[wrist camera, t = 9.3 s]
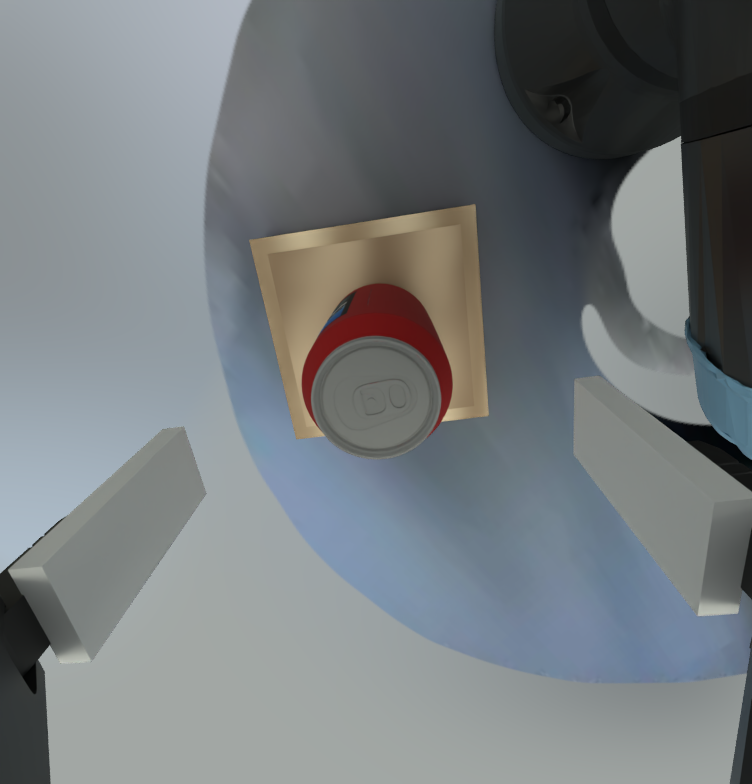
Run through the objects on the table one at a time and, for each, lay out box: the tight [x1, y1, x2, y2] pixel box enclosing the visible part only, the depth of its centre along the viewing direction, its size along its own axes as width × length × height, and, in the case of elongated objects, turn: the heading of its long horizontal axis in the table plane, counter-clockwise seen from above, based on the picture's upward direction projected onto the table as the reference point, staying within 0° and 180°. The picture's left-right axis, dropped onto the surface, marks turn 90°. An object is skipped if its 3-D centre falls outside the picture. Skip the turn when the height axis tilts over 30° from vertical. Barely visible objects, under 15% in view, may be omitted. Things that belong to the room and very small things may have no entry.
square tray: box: [249, 204, 489, 439], centre depth 31 cm, size 14×14×4 cm
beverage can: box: [302, 284, 453, 459], centre depth 24 cm, size 7×7×12 cm
